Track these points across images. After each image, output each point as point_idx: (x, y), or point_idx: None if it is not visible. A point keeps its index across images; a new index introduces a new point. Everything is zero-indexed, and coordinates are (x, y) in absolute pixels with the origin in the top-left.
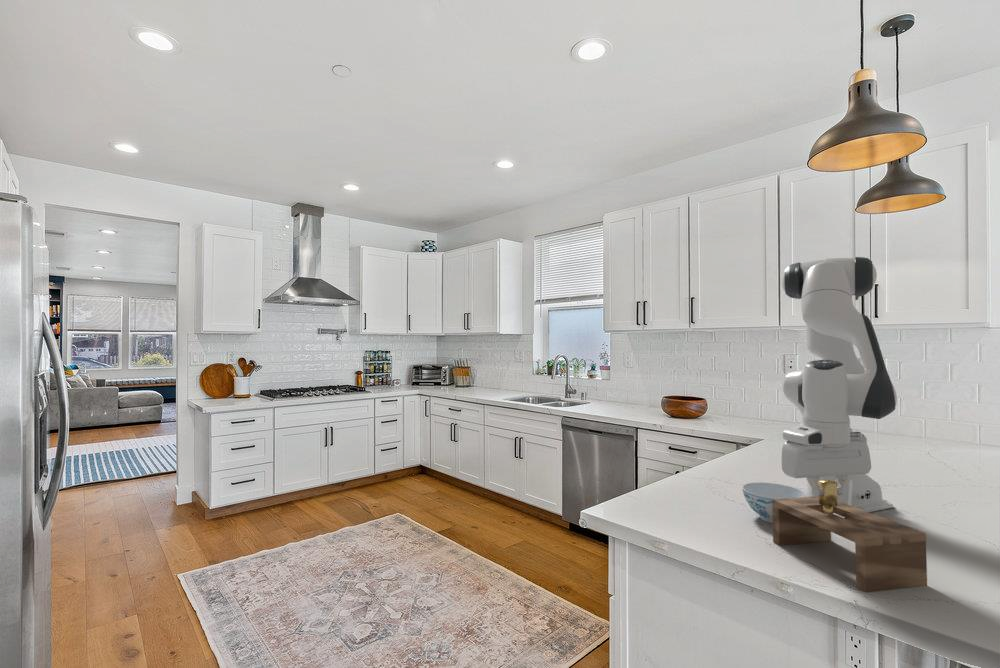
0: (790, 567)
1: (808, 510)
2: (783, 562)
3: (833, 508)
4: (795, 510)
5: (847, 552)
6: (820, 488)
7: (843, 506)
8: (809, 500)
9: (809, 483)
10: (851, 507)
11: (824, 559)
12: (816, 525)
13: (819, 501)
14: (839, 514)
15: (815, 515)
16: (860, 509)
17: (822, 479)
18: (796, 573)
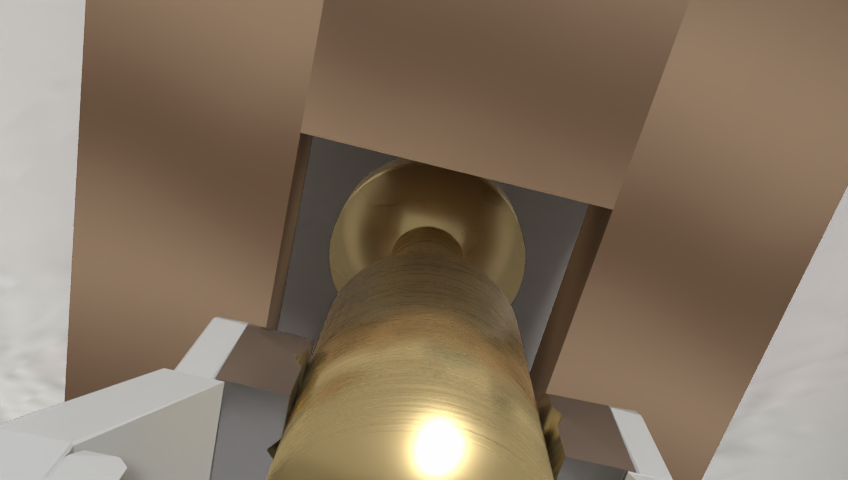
0: (54, 195)
1: (188, 249)
2: (66, 135)
3: (581, 268)
4: (86, 160)
5: (569, 211)
6: (235, 476)
7: (669, 331)
8: (557, 14)
9: (94, 400)
10: (706, 381)
11: (339, 212)
12: (351, 194)
13: (328, 314)
14: (553, 314)
15: (121, 368)
16: (715, 445)
17: (456, 465)
18: (29, 254)
